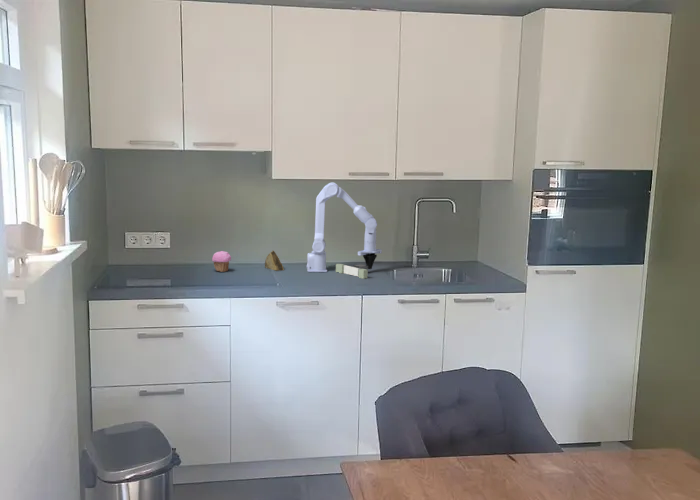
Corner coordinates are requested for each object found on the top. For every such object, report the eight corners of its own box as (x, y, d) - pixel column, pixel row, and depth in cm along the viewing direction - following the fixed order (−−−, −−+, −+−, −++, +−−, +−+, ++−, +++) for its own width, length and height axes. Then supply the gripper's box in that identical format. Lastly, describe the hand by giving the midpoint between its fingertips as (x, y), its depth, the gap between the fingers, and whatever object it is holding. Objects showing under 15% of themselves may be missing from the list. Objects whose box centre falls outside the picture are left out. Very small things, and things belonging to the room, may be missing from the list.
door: (359, 276, 310) (359, 268, 310) (343, 273, 319) (343, 264, 318) (360, 276, 311) (361, 267, 310) (345, 272, 319) (345, 264, 319)
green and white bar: (363, 278, 307) (363, 270, 307) (335, 272, 322) (335, 264, 321) (367, 278, 309) (367, 269, 308) (339, 271, 324) (339, 263, 323)
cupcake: (234, 271, 318) (234, 250, 316) (223, 273, 310) (223, 253, 308) (219, 269, 322) (219, 249, 320) (208, 271, 314) (208, 251, 312)
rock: (258, 263, 329) (262, 263, 319) (268, 249, 330) (272, 249, 320) (276, 275, 331) (280, 276, 322) (285, 261, 333) (290, 262, 323)
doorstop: (360, 274, 317) (360, 266, 317) (353, 273, 321) (353, 265, 320) (367, 273, 321) (368, 265, 320) (360, 272, 324) (361, 264, 324)
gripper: (365, 243, 315) (364, 271, 317) (386, 241, 324) (385, 268, 326) (355, 241, 320) (354, 269, 322) (376, 239, 329) (375, 266, 331)
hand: (369, 268), depth 324 cm, fingers closed
